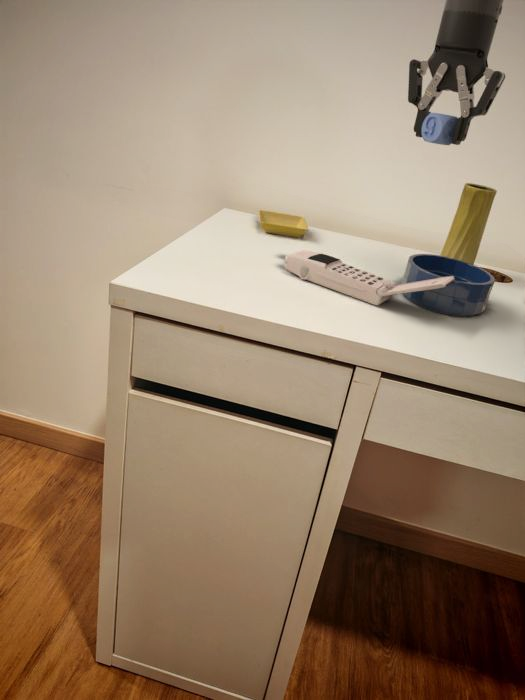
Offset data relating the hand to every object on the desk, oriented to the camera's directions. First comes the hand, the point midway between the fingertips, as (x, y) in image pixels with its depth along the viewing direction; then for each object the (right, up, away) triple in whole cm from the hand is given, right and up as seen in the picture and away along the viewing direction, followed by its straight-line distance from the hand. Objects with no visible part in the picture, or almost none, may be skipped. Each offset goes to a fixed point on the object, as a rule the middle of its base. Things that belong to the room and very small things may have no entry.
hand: (437, 140), depth 88 cm
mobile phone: (-14, -24, -5) cm, 28 cm away
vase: (+7, -18, +14) cm, 24 cm away
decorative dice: (0, 0, 0) cm, 1 cm away
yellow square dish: (-23, -10, +18) cm, 31 cm away
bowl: (0, -24, -2) cm, 25 cm away
